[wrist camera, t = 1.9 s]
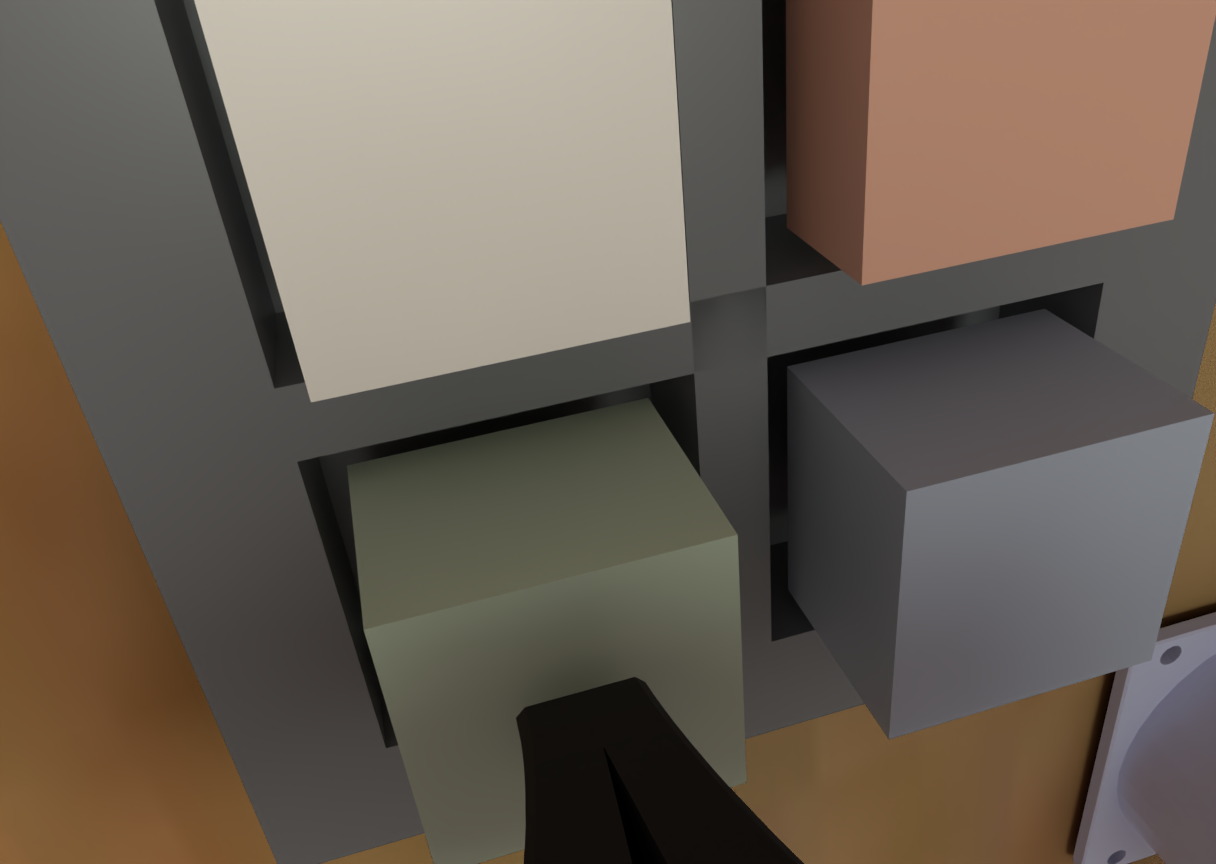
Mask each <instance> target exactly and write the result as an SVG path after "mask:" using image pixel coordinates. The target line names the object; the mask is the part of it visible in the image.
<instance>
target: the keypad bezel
mask: <svg viewBox="0 0 1216 864" xmlns="http://www.w3.org/2000/svg"><path fill="white" fill-rule="evenodd" d="M671 4H672V21H673V37H674V54H675V71H676V88H677V105H678V122H679V139H680V156H681V173H682V190H683V207H684V224H685V241H686V258H687V275H688V292H689V308H690V322H688V323H683V324H678V325H673V326H669V327H664V328H659V329H655V330H650V331H645V332H641V333H636V334H631V335H626V336H622V337H617V338H612V339H608V340H603V341H598V342H593V343H589V344H584V345H579V346H575V347H570V348H565V349H561V350H556V351H551V352H546V353H542V354H537V355H532V356H528V357H523V358H518V359H513V360H509V361H504V362H499V363H495V364H490V365H485V366H480V367H476V368H471V369H466V370H462V371H457V372H452V373H448V374H443V375H438V376H433V377H429V378H424V379H419V380H415V381H410V382H405V383H400V384H396V385H391V386H386V387H382V388H377V389H372V390H367V391H363V392H358V393H353V394H349V395H344V396H339V397H335V398H330V399H325V400H320V401H316V402H311V401H310V397H309V394H308V391H307V387H306V384H305V380H304V377H303V373H302V370H301V366H300V363H299V360H298V356H297V353H296V349H295V346H294V342H293V339H292V336H291V332H290V329H289V325H288V322H287V318H286V315H285V311H284V308H283V305H282V301H281V298H280V294H279V291H278V287H277V284H276V280H275V277H274V274H273V270H272V267H271V263H270V260H269V256H268V253H267V249H266V246H265V243H264V239H263V236H262V232H261V229H260V225H259V222H258V219H257V215H256V212H255V208H254V205H253V201H252V198H251V194H250V191H249V188H248V184H247V181H246V177H245V174H244V170H243V167H242V163H241V160H240V157H239V153H238V150H237V146H236V143H235V139H234V136H233V132H232V129H231V126H230V122H229V119H228V115H227V112H226V108H225V105H224V102H223V98H222V95H221V91H220V88H219V84H218V81H217V77H216V74H215V71H214V67H213V64H212V60H211V57H210V53H209V50H208V46H207V43H206V40H205V36H204V33H203V29H202V26H201V22H200V19H199V16H198V12H197V9H196V5H195V2H194V0H0V221H1V223H2V225H3V228H4V230H5V232H6V234H7V237H8V239H9V241H10V244H11V246H12V248H13V251H14V253H15V255H16V258H17V260H18V262H19V265H20V267H21V269H22V272H23V274H24V276H25V279H26V281H27V283H28V286H29V288H30V290H31V293H32V295H33V297H34V299H35V302H36V304H37V306H38V309H39V311H40V313H41V316H42V318H43V320H44V323H45V325H46V327H47V330H48V332H49V334H50V337H51V339H52V341H53V344H54V346H55V348H56V351H57V353H58V355H59V358H60V360H61V362H62V365H63V367H64V369H65V371H66V374H67V376H68V378H69V381H70V383H71V385H72V388H73V390H74V392H75V395H76V397H77V399H78V402H79V404H80V406H81V409H82V411H83V413H84V416H85V418H86V420H87V423H88V425H89V427H90V430H91V432H92V434H93V437H94V439H95V441H96V443H97V446H98V448H99V450H100V453H101V455H102V457H103V460H104V462H105V464H106V467H107V469H108V471H109V474H110V476H111V478H112V481H113V483H114V485H115V488H116V490H117V492H118V495H119V497H120V499H121V502H122V504H123V506H124V509H125V511H126V513H127V515H128V518H129V520H130V522H131V525H132V527H133V529H134V532H135V534H136V536H137V539H138V541H139V543H140V546H141V548H142V550H143V553H144V555H145V557H146V560H147V562H148V564H149V567H150V569H151V571H152V574H153V576H154V578H155V581H156V583H157V585H158V587H159V590H160V592H161V594H162V597H163V599H164V601H165V604H166V606H167V608H168V611H169V613H170V615H171V618H172V620H173V622H174V625H175V627H176V629H177V632H178V634H179V636H180V639H181V641H182V643H183V646H184V648H185V650H186V653H187V655H188V657H189V659H190V662H191V664H192V666H193V669H194V671H195V673H196V676H197V678H198V680H199V683H200V685H201V687H202V690H203V692H204V694H205V697H206V699H207V701H208V704H209V706H210V708H211V711H212V713H213V715H214V718H215V720H216V722H217V725H218V727H219V729H220V731H221V734H222V736H223V738H224V741H225V743H226V745H227V748H228V750H229V752H230V755H231V757H232V759H233V762H234V764H235V766H236V769H237V771H238V773H239V776H240V778H241V780H242V783H243V785H244V787H245V790H246V792H247V794H248V796H249V799H250V801H251V803H252V806H253V808H254V810H255V813H256V815H257V817H258V820H259V822H260V824H261V827H262V829H263V831H264V834H265V836H266V838H267V841H268V843H269V845H270V848H271V850H272V852H273V855H274V857H275V859H276V862H277V864H320V863H324V862H327V861H331V860H334V859H337V858H341V857H344V856H348V855H351V854H354V853H358V852H361V851H365V850H368V849H371V848H375V847H378V846H382V845H385V844H389V843H392V842H395V841H399V840H402V839H406V838H409V837H412V836H416V835H419V834H423V833H424V829H423V826H422V823H421V819H420V816H419V813H418V809H417V806H416V803H415V799H414V796H413V793H412V789H411V786H410V783H409V779H408V776H407V773H406V769H405V766H404V763H403V759H402V756H401V753H400V749H399V746H398V743H397V739H396V736H395V733H394V729H393V726H392V723H391V719H390V716H389V713H388V709H387V706H386V703H385V699H384V696H383V693H382V689H381V686H380V683H379V679H378V676H377V673H376V669H375V666H374V663H373V659H372V656H371V653H370V649H369V646H368V643H367V639H366V636H365V633H364V628H363V618H362V608H361V599H360V589H359V579H358V569H357V559H356V550H355V540H354V530H353V520H352V510H351V500H350V491H349V481H348V471H347V465H351V464H356V463H360V462H365V461H369V460H374V459H378V458H383V457H387V456H391V455H396V454H400V453H405V452H409V451H414V450H418V449H423V448H427V447H431V446H436V445H440V444H445V443H449V442H454V441H458V440H463V439H467V438H471V437H476V436H480V435H485V434H489V433H494V432H498V431H503V430H507V429H512V428H516V427H520V426H525V425H529V424H534V423H538V422H543V421H547V420H552V419H556V418H560V417H565V416H569V415H574V414H578V413H583V412H587V411H592V410H596V409H600V408H605V407H609V406H614V405H618V404H623V403H627V402H632V401H636V400H641V399H645V398H649V400H650V401H651V403H652V404H653V406H654V407H655V409H656V411H657V412H658V414H659V415H660V417H661V418H662V420H663V421H664V423H665V424H666V426H667V427H668V429H669V430H670V432H671V433H672V435H673V437H674V438H675V440H676V441H677V443H678V444H679V446H680V447H681V449H682V450H683V452H684V453H685V455H686V456H687V458H688V459H689V461H690V463H691V464H692V466H693V467H694V469H695V470H696V472H697V473H698V475H699V476H700V478H701V479H702V481H703V482H704V484H705V485H706V487H707V489H708V490H709V492H710V493H711V495H712V496H713V498H714V499H715V501H716V502H717V504H718V505H719V507H720V508H721V510H722V511H723V513H724V515H725V516H726V518H727V519H728V521H729V522H730V524H731V525H732V527H733V528H734V530H735V531H736V533H737V534H738V557H739V585H740V613H741V640H742V668H743V695H744V723H745V739H746V738H750V737H753V736H757V735H760V734H763V733H767V732H770V731H774V730H777V729H781V728H784V727H787V726H791V725H794V724H798V723H801V722H804V721H808V720H811V719H815V718H818V717H821V716H825V715H828V714H832V713H835V712H838V711H842V710H845V709H849V708H852V707H856V706H859V705H862V704H865V703H864V702H863V700H862V699H861V697H860V696H859V694H858V693H857V691H856V690H855V688H854V687H853V685H852V684H851V683H850V681H849V680H848V678H847V677H846V675H845V674H844V672H843V671H842V669H841V668H840V666H839V665H838V663H837V662H836V660H835V659H834V657H833V656H832V654H831V653H830V651H829V650H828V648H827V647H826V645H825V644H824V642H823V641H822V639H821V638H820V636H819V635H818V633H817V632H816V631H815V629H814V628H813V626H812V625H811V623H810V622H809V620H808V619H807V617H806V616H805V614H804V613H803V611H802V610H801V608H800V607H799V605H798V604H797V602H796V601H795V599H794V598H793V596H792V595H791V593H790V592H789V590H788V471H787V366H792V365H796V364H801V363H805V362H810V361H814V360H818V359H823V358H827V357H832V356H836V355H841V354H845V353H850V352H854V351H858V350H863V349H867V348H872V347H876V346H881V345H885V344H890V343H894V342H898V341H903V340H907V339H912V338H916V337H921V336H925V335H930V334H934V333H939V332H943V331H947V330H952V329H956V328H961V327H965V326H970V325H974V324H979V323H983V322H987V321H992V320H996V319H1001V318H1005V317H1010V316H1014V315H1019V314H1023V313H1027V312H1032V311H1036V310H1041V309H1046V310H1048V311H1049V312H1051V313H1053V314H1054V315H1056V316H1057V317H1059V318H1061V319H1062V320H1064V321H1066V322H1067V323H1069V324H1070V325H1072V326H1074V327H1075V328H1077V329H1078V330H1080V331H1082V332H1083V333H1085V334H1087V335H1088V336H1090V337H1091V338H1093V339H1095V340H1096V341H1098V342H1100V343H1101V344H1103V345H1104V346H1106V347H1108V348H1109V349H1111V350H1113V351H1114V352H1116V353H1117V354H1119V355H1121V356H1122V357H1124V358H1126V359H1127V360H1129V361H1130V362H1132V363H1134V364H1135V365H1137V366H1139V367H1140V368H1142V369H1143V370H1145V371H1147V372H1148V373H1150V374H1151V375H1153V376H1155V377H1156V378H1158V379H1160V380H1161V381H1163V382H1164V383H1166V384H1168V385H1169V386H1171V387H1173V388H1174V389H1176V390H1177V391H1179V392H1181V393H1182V394H1184V395H1186V396H1187V397H1189V398H1190V399H1192V398H1193V394H1194V390H1195V386H1196V381H1197V377H1198V373H1199V369H1200V365H1201V361H1202V356H1203V352H1204V348H1205V344H1206V340H1207V336H1208V331H1209V327H1210V323H1211V319H1212V315H1213V311H1214V306H1215V302H1216V17H1215V21H1214V26H1213V31H1212V36H1211V41H1210V46H1209V50H1208V55H1207V60H1206V65H1205V70H1204V75H1203V79H1202V84H1201V89H1200V94H1199V99H1198V104H1197V108H1196V113H1195V118H1194V123H1193V128H1192V133H1191V137H1190V142H1189V147H1188V152H1187V157H1186V162H1185V167H1184V171H1183V176H1182V181H1181V186H1180V191H1179V196H1178V200H1177V205H1176V210H1175V215H1174V219H1173V220H1168V221H1163V222H1158V223H1154V224H1149V225H1144V226H1140V227H1135V228H1130V229H1125V230H1121V231H1116V232H1111V233H1107V234H1102V235H1097V236H1092V237H1088V238H1083V239H1078V240H1074V241H1069V242H1064V243H1060V244H1055V245H1050V246H1045V247H1041V248H1036V249H1031V250H1027V251H1022V252H1017V253H1012V254H1008V255H1003V256H998V257H994V258H989V259H984V260H979V261H975V262H970V263H965V264H961V265H956V266H951V267H947V268H942V269H937V270H932V271H928V272H923V273H918V274H914V275H909V276H904V277H899V278H895V279H890V280H885V281H881V282H876V283H871V284H867V285H860V284H859V283H858V282H857V281H855V280H854V279H853V278H851V277H850V276H849V275H847V274H846V273H845V272H844V271H842V270H841V269H840V268H838V267H837V266H836V265H834V264H833V263H832V262H831V261H829V260H828V259H827V258H825V257H824V256H823V255H822V254H820V253H819V252H818V251H816V250H815V249H814V248H812V247H811V246H810V245H809V244H807V243H806V242H805V241H803V240H802V239H801V238H799V237H798V236H797V235H796V234H794V233H793V232H792V231H790V230H789V229H788V228H787V181H786V0H671Z"/></svg>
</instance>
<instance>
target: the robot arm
mask: <svg viewBox="0 0 1216 864" xmlns="http://www.w3.org/2000/svg"><path fill="white" fill-rule="evenodd" d="M516 721H517V726H518V731H519V736H520V740H521V746H522V754H523V762H524V776H525V815H526V829H525V852H524V864H804V863H803V862H802V861H801V860H800V859H799V858H798V857H797V856H796V855H795V854H794V853H793V852H792V851H791V850H790V849H789V848H788V847H787V846H786V845H785V844H784V843H783V842H782V841H781V840H780V839H779V838H777V837H776V836H775V835H774V834H773V832H772V831H771V830H770V829H769V828H768V827H767V826H766V825H765V824H764V823H763V822H762V821H761V820H760V819H759V818H758V817H757V816H756V815H755V814H754V812H753V811H752V810H751V809H750V808H749V807H748V806H747V805H746V804H745V803H744V802H743V801H742V800H741V799H740V798H739V797H738V796H737V795H736V794H735V792H734V791H733V790H732V789H731V788H730V787H729V786H728V785H727V784H726V783H725V781H724V780H723V779H722V778H721V777H720V776H719V775H718V774H717V773H716V771H715V770H714V769H713V768H712V767H711V766H710V765H709V763H708V762H707V761H706V760H705V759H704V757H703V756H702V755H701V754H700V753H699V752H698V750H697V749H696V748H695V747H694V746H693V745H692V743H691V742H690V741H689V740H688V738H687V737H686V736H685V735H684V734H683V732H682V731H681V730H680V729H679V727H678V726H677V725H676V724H675V722H674V721H673V720H672V718H671V717H670V716H669V714H668V713H667V712H666V710H665V709H664V708H663V706H662V705H661V704H660V702H659V701H658V700H657V698H656V697H655V695H654V694H653V693H652V691H651V690H650V688H649V687H648V685H647V684H646V682H644V681H642V680H640V679H639V678H637V677H632V678H628V679H625V680H621V681H618V682H614V683H610V684H607V685H603V686H600V687H596V688H592V689H589V690H585V691H582V692H578V693H574V694H571V695H567V696H563V697H560V698H556V699H553V700H549V701H545V702H542V703H538V704H535V705H531V706H527V707H525V708H524V709H523V710H522V711H521V712H520V714H519V715H518V716H517V717H516ZM1155 854H1157V855H1158V856H1159V857H1160V858H1161V859H1162V860H1163V861H1164V863H1165V864H1216V612H1214V613H1210V614H1207V615H1204V616H1200V617H1197V618H1194V619H1190V620H1187V621H1183V622H1180V623H1177V624H1173V625H1170V626H1167V627H1163V628H1160V629H1159V633H1158V636H1157V640H1156V644H1155V648H1154V652H1153V656H1152V660H1151V661H1147V662H1144V663H1141V664H1137V665H1134V666H1131V667H1127V668H1124V669H1121V670H1117V671H1116V674H1115V678H1114V683H1113V687H1112V691H1111V695H1110V700H1109V704H1108V708H1107V713H1106V717H1105V721H1104V726H1103V730H1102V734H1101V738H1100V743H1099V747H1098V751H1097V756H1096V760H1095V764H1094V769H1093V773H1092V777H1091V781H1090V786H1089V790H1088V794H1087V799H1086V803H1085V807H1084V812H1083V816H1082V820H1081V825H1080V829H1079V833H1078V837H1077V842H1076V846H1075V850H1074V855H1073V862H1074V864H1128V863H1131V862H1134V861H1137V860H1140V859H1143V858H1146V857H1149V856H1152V855H1155Z"/></svg>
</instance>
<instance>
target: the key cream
mask: <svg viewBox="0 0 1216 864" xmlns="http://www.w3.org/2000/svg"><path fill="white" fill-rule="evenodd" d="M194 2H195V5H196V9H197V12H198V16H199V19H200V22H201V26H202V29H203V33H204V36H205V40H206V43H207V46H208V50H209V53H210V57H211V60H212V64H213V67H214V71H215V74H216V77H217V81H218V84H219V88H220V91H221V95H222V98H223V102H224V105H225V108H226V112H227V115H228V119H229V122H230V126H231V129H232V132H233V136H234V139H235V143H236V146H237V150H238V153H239V157H240V160H241V163H242V167H243V170H244V174H245V177H246V181H247V184H248V188H249V191H250V194H251V198H252V201H253V205H254V208H255V212H256V215H257V219H258V222H259V225H260V229H261V232H262V236H263V239H264V243H265V246H266V249H267V253H268V256H269V260H270V263H271V267H272V270H273V274H274V277H275V280H276V284H277V287H278V291H279V294H280V298H281V301H282V305H283V308H284V311H285V315H286V318H287V322H288V325H289V329H290V332H291V336H292V339H293V342H294V346H295V349H296V353H297V356H298V360H299V363H300V366H301V370H302V373H303V377H304V380H305V384H306V387H307V391H308V394H309V397H310V401H311V402H316V401H320V400H325V399H330V398H335V397H339V396H344V395H349V394H353V393H358V392H363V391H367V390H372V389H377V388H382V387H386V386H391V385H396V384H400V383H405V382H410V381H415V380H419V379H424V378H429V377H433V376H438V375H443V374H448V373H452V372H457V371H462V370H466V369H471V368H476V367H480V366H485V365H490V364H495V363H499V362H504V361H509V360H513V359H518V358H523V357H528V356H532V355H537V354H542V353H546V352H551V351H556V350H561V349H565V348H570V347H575V346H579V345H584V344H589V343H593V342H598V341H603V340H608V339H612V338H617V337H622V336H626V335H631V334H636V333H641V332H645V331H650V330H655V329H659V328H664V327H669V326H673V325H678V324H683V323H688V322H690V308H689V292H688V275H687V258H686V241H685V224H684V207H683V190H682V173H681V156H680V139H679V122H678V105H677V88H676V71H675V54H674V37H673V21H672V4H671V0H194Z"/></svg>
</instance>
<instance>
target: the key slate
mask: <svg viewBox="0 0 1216 864" xmlns="http://www.w3.org/2000/svg"><path fill="white" fill-rule="evenodd" d="M1214 414H1215V413H1213V412H1212V411H1210V410H1208V409H1207V408H1205V407H1203V406H1202V405H1200V404H1199V403H1197V402H1195V401H1194V400H1192V399H1190V398H1189V397H1187V396H1186V395H1184V394H1182V393H1181V392H1179V391H1177V390H1176V389H1174V388H1173V387H1171V386H1169V385H1168V384H1166V383H1164V382H1163V381H1161V380H1160V379H1158V378H1156V377H1155V376H1153V375H1151V374H1150V373H1148V372H1147V371H1145V370H1143V369H1142V368H1140V367H1139V366H1137V365H1135V364H1134V363H1132V362H1130V361H1129V360H1127V359H1126V358H1124V357H1122V356H1121V355H1119V354H1117V353H1116V352H1114V351H1113V350H1111V349H1109V348H1108V347H1106V346H1104V345H1103V344H1101V343H1100V342H1098V341H1096V340H1095V339H1093V338H1091V337H1090V336H1088V335H1087V334H1085V333H1083V332H1082V331H1080V330H1078V329H1077V328H1075V327H1074V326H1072V325H1070V324H1069V323H1067V322H1066V321H1064V320H1062V319H1061V318H1059V317H1057V316H1056V315H1054V314H1053V313H1051V312H1049V311H1048V310H1046V309H1041V310H1036V311H1032V312H1027V313H1023V314H1019V315H1014V316H1010V317H1005V318H1001V319H996V320H992V321H987V322H983V323H979V324H974V325H970V326H965V327H961V328H956V329H952V330H947V331H943V332H939V333H934V334H930V335H925V336H921V337H916V338H912V339H907V340H903V341H898V342H894V343H890V344H885V345H881V346H876V347H872V348H867V349H863V350H858V351H854V352H850V353H845V354H841V355H836V356H832V357H827V358H823V359H818V360H814V361H810V362H805V363H801V364H796V365H792V366H787V471H788V590H789V592H790V593H791V595H792V596H793V598H794V599H795V601H796V602H797V604H798V605H799V607H800V608H801V610H802V611H803V613H804V614H805V616H806V617H807V619H808V620H809V622H810V623H811V625H812V626H813V628H814V629H815V631H816V632H817V633H818V635H819V636H820V638H821V639H822V641H823V642H824V644H825V645H826V647H827V648H828V650H829V651H830V653H831V654H832V656H833V657H834V659H835V660H836V662H837V663H838V665H839V666H840V668H841V669H842V671H843V672H844V674H845V675H846V677H847V678H848V680H849V681H850V683H851V684H852V685H853V687H854V688H855V690H856V691H857V693H858V694H859V696H860V697H861V699H862V700H863V702H864V703H865V705H866V706H867V708H868V709H869V711H870V712H871V714H872V715H873V717H874V718H875V720H876V721H877V723H878V724H879V726H880V727H881V729H882V730H883V732H884V733H885V735H886V736H887V738H888V739H892V738H895V737H899V736H902V735H905V734H909V733H912V732H915V731H919V730H922V729H925V728H929V727H932V726H935V725H938V724H942V723H945V722H948V721H952V720H955V719H958V718H962V717H965V716H968V715H972V714H975V713H978V712H982V711H985V710H988V709H992V708H995V707H998V706H1001V705H1005V704H1008V703H1011V702H1015V701H1018V700H1021V699H1025V698H1028V697H1031V696H1035V695H1038V694H1041V693H1045V692H1048V691H1051V690H1054V689H1058V688H1061V687H1064V686H1068V685H1071V684H1074V683H1078V682H1081V681H1084V680H1088V679H1091V678H1094V677H1098V676H1101V675H1104V674H1108V673H1111V672H1114V671H1117V670H1121V669H1124V668H1127V667H1131V666H1134V665H1137V664H1141V663H1144V662H1147V661H1151V660H1152V656H1153V652H1154V648H1155V644H1156V640H1157V636H1158V633H1159V629H1160V625H1161V621H1162V617H1163V613H1164V609H1165V605H1166V601H1167V597H1168V593H1169V590H1170V586H1171V582H1172V578H1173V574H1174V570H1175V566H1176V562H1177V558H1178V554H1179V550H1180V547H1181V543H1182V539H1183V535H1184V531H1185V527H1186V523H1187V519H1188V515H1189V511H1190V507H1191V504H1192V500H1193V496H1194V492H1195V488H1196V484H1197V480H1198V476H1199V472H1200V468H1201V464H1202V461H1203V457H1204V453H1205V449H1206V445H1207V441H1208V437H1209V433H1210V429H1211V425H1212V421H1213V418H1214Z"/></svg>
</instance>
